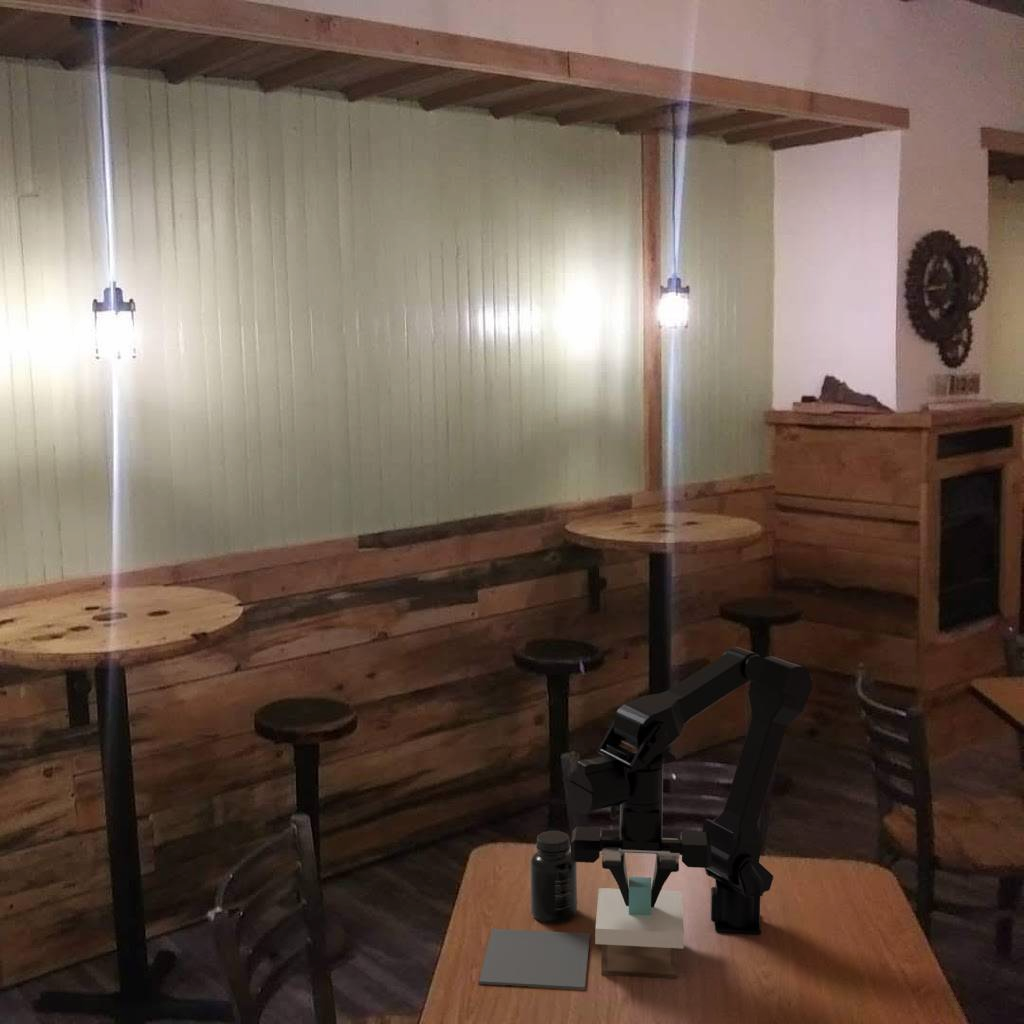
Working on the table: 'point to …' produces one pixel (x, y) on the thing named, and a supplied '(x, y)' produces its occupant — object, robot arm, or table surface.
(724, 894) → the robot arm
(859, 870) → the table surface
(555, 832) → the supplement bottle
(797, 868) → the table surface
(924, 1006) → the table surface
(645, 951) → the parts box
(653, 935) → the lid
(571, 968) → the mat
